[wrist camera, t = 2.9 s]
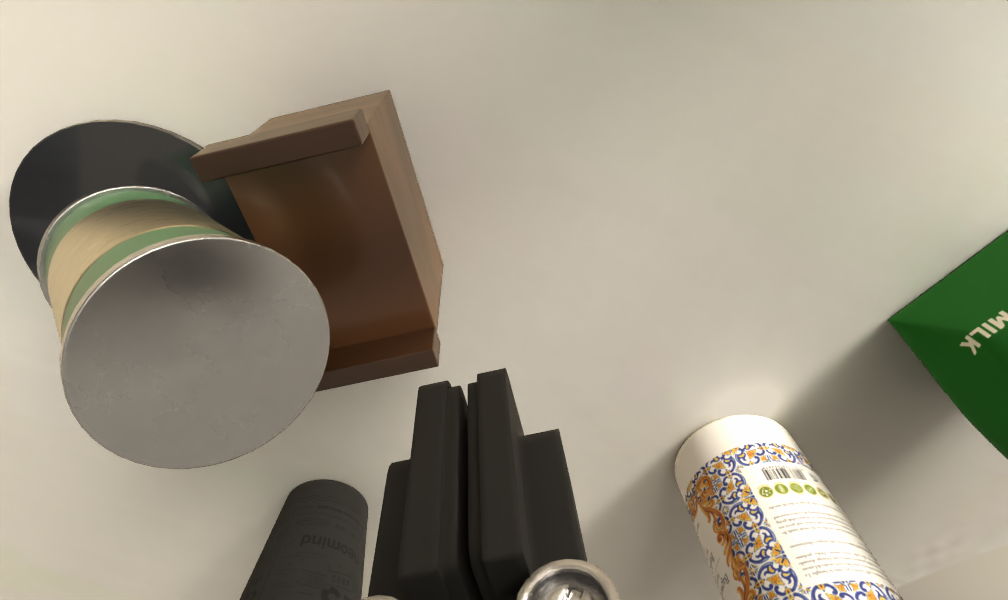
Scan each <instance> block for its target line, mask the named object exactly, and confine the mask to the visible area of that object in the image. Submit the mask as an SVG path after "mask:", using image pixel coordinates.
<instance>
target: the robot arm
mask: <svg viewBox="0 0 1008 600" xmlns="http://www.w3.org/2000/svg"><path fill="white" fill-rule="evenodd" d="M361 600H621V598H620V596H619V594H618V591H617V589H616V587H615V586H614V584H613V583H612V581H611V579H610V578H609V576H608V575H606V574H605V573H604V572H603V571H602V570H601V569H599V568H598V567H597V566H595V565H592V564H590V563H588V562H587V558H586V553H585V548H584V544H583V539H582V534H581V529H580V524H579V519H578V515H577V510H576V505H575V500H574V495H573V491H572V486H571V481H570V477H569V472H568V468H567V463H566V459H565V454H564V450H563V445H562V441H561V437H560V432H559V429H555V430H550V431H545V432H540V433H535V434H530V435H526V436H524V433H523V429H522V425H521V422H520V418H519V414H518V411H517V407H516V403H515V399H514V396H513V392H512V388H511V385H510V381H509V377H508V374H507V371H506V369H505V368H504V369H499V370H494V371H490V372H485V373H480V374H478V375H477V382H475V383H470V384H468V406H467V403H466V400H465V396H464V393H463V391H462V388H461V386H456V387H451V385H450V383H449V381H443V382H438V383H433V384H429V385H424V386H420V387H419V390H418V397H417V406H416V414H415V423H414V432H413V441H412V449H411V458H410V459H409V460H404V461H399V462H395V463H391V465H390V466H389V469H388V473H387V479H386V485H385V491H384V498H383V504H382V510H381V517H380V523H379V529H378V536H377V542H376V548H375V555H374V561H373V567H372V574H371V580H370V586H369V593H368V597H366V598H363V599H361Z"/></svg>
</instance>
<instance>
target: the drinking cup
mask: <svg viewBox="0 0 1008 600" xmlns="http://www.w3.org/2000/svg"><path fill="white" fill-rule="evenodd" d="M367 518H368V506H367V503H366V500H365V499H364V497H363V496H362V495H361V494H360V493H359V492H358V491H357V490H356V489H354V488H353V487H351V486H349V485H347V484H344V483H342V482H338V481H333V480H314V481H309V482H306V483H303V484H301V485H299V486H297V487H296V488H294V489H293V490H292V491H291V492H290V494H289V495H288V497H287V499H286V501H285V503H284V505H283V508H282V510H281V512H280V514H279V516H278V518H277V520H276V523H275V525H274V527H273V529H272V531H271V533H270V535H269V538H268V540H267V542H266V544H265V546H264V548H263V550H262V553H261V555H260V557H259V559H258V561H257V563H256V565H255V568H254V570H253V572H252V574H251V576H250V578H249V580H248V583H247V585H246V587H245V589H244V591H243V593H242V595H241V598H240V600H361V596H362V583H363V570H364V557H365V544H366V531H367Z"/></svg>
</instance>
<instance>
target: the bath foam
mask: <svg viewBox="0 0 1008 600" xmlns="http://www.w3.org/2000/svg"><path fill="white" fill-rule="evenodd" d="M675 477H676V481H677V484H678V486H679V489H680V491H681V494H682V496H683V499H684V502H685V504H686V507H687V510H688V512H689V515H690V517H691V520H692V522H693V525H694V528H695V530H696V533H697V535H698V538H699V540H700V543H701V545H702V548H703V550H704V553H705V555H706V558H707V560H708V563H709V565H710V568H711V570H712V573H713V575H714V578H715V580H716V583H717V585H718V588H719V590H720V593H721V595H722V598H723V600H903V599H902V597H901V596H900V594H899V593H898V591H897V590H896V588H895V587H894V585H893V584H892V582H891V581H890V579H889V578H888V577H887V575H886V574H885V572H884V571H883V569H882V568H881V566H880V565H879V563H878V562H877V560H876V559H875V557H874V556H873V555H872V553H871V552H870V550H869V549H868V547H867V546H866V544H865V543H864V541H863V540H862V538H861V537H860V535H859V534H858V533H857V531H856V530H855V528H854V527H853V525H852V524H851V522H850V521H849V519H848V518H847V516H846V515H845V513H844V512H843V511H842V509H841V508H840V506H839V505H838V503H837V502H836V500H835V499H834V497H833V496H832V494H831V493H830V491H829V490H828V489H827V487H826V486H825V484H824V483H823V481H822V480H821V478H820V477H819V475H818V474H817V472H816V471H815V469H814V468H813V467H812V465H811V464H810V462H809V461H808V460H807V458H806V457H805V456H804V454H803V453H802V451H801V450H800V448H799V447H798V446H797V444H796V443H795V441H794V440H793V438H792V437H791V435H790V434H789V433H788V432H787V431H786V429H785V428H783V427H782V426H781V425H780V424H778V423H777V422H775V421H773V420H771V419H768V418H765V417H761V416H756V415H736V416H730V417H725V418H722V419H719V420H716V421H714V422H711V423H709V424H707V425H705V426H704V427H702V428H700V429H699V430H698V431H696V432H695V433H694V434H692V435H691V436H690V437H689V438H688V439H687V440H686V442H685V443H684V444H683V446H682V447H681V449H680V450H679V452H678V455H677V457H676V461H675Z"/></svg>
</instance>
